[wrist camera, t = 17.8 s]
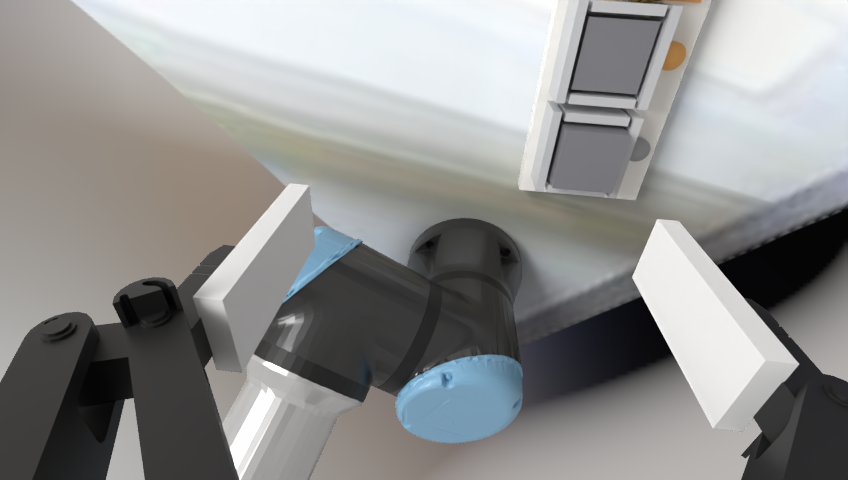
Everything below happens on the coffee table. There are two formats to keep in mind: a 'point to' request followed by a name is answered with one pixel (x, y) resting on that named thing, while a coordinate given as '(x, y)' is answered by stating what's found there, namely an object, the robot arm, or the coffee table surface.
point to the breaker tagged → (613, 53)
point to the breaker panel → (634, 112)
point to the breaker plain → (587, 156)
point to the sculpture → (643, 0)
